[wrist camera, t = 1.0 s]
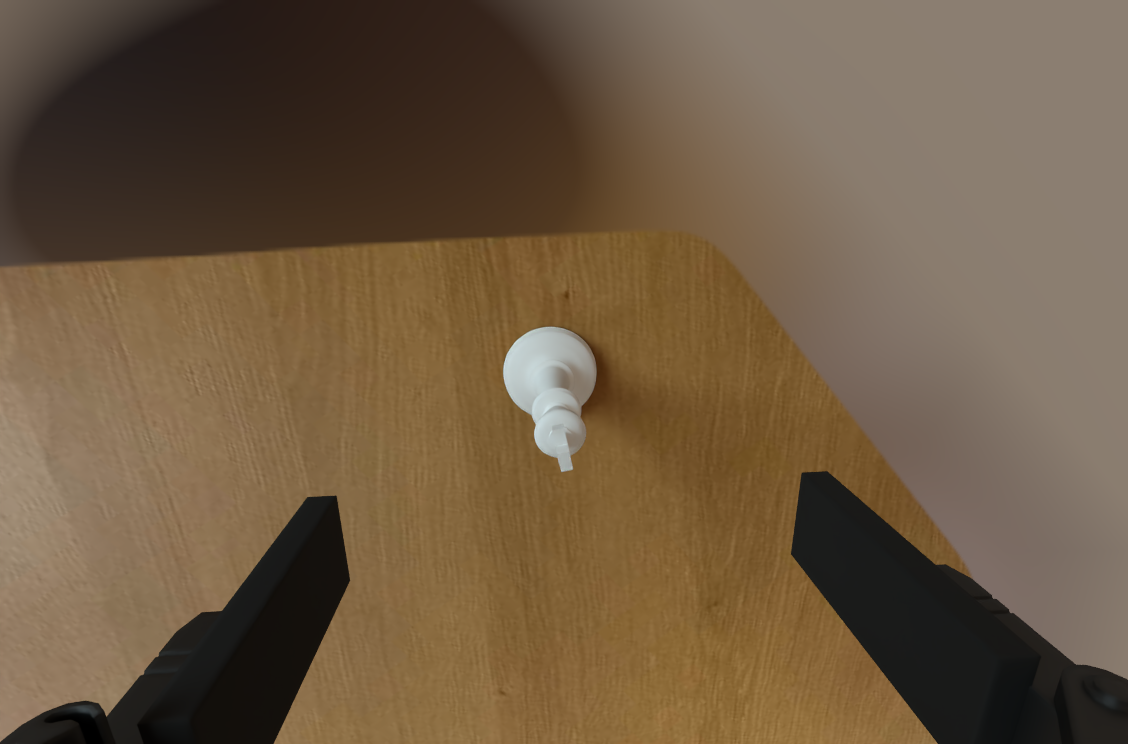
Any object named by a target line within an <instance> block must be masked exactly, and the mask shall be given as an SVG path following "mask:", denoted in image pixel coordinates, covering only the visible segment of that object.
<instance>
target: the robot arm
mask: <svg viewBox="0 0 1128 744" xmlns="http://www.w3.org/2000/svg"><path fill="white" fill-rule="evenodd" d="M791 555H792V556H793V557H794V558H795V560H796V561H797V562H798V564H799V565H800V566H801V568H802V569H803V570H804V571H805V573H806V574H807V575H808V577H809V578H810V579H811V580H812V582H813V583H814V584H815V586H816V587H817V588H818V589H819V591H820V592H821V593H822V595H823V596H824V597H825V598H826V600H827V601H828V602H829V604H830V605H831V606H832V608H833V609H834V610H835V611H836V613H837V614H838V615H839V617H840V618H841V619H842V620H843V622H844V623H845V624H846V626H847V627H848V628H849V629H850V631H851V632H852V633H853V635H854V636H855V637H856V638H857V640H858V641H859V642H860V644H861V645H862V646H863V647H864V649H865V650H866V651H867V653H868V654H869V655H870V657H871V658H872V659H873V660H874V662H875V663H876V664H877V666H878V667H879V668H880V669H881V671H882V672H883V673H884V675H885V676H886V677H887V678H888V680H889V681H890V682H891V684H892V685H893V686H894V687H895V689H896V690H897V691H898V693H899V694H900V695H901V697H902V698H903V699H904V700H905V702H906V703H907V704H908V706H909V707H910V708H911V709H912V711H913V712H914V713H915V715H916V716H917V717H918V718H919V720H920V721H921V722H922V724H923V725H924V726H925V727H926V729H927V730H928V731H929V733H930V734H931V735H932V736H933V738H934V739H935V740H936V742H937V743H938V744H1128V680H1127V679H1125V678H1123V677H1120V676H1118V675H1116V674H1113V673H1111V672H1109V671H1107V670H1103V669H1100V668H1096V667H1092V666H1088V665H1076V664H1074V663H1073V662H1072V661H1071V660H1070V659H1068V658H1067V657H1066V656H1064V655H1063V654H1062V653H1061V652H1060V651H1059V650H1057V649H1056V648H1055V647H1054V646H1053V645H1051V644H1050V643H1049V642H1048V641H1046V640H1045V639H1044V638H1043V637H1041V636H1040V635H1039V634H1038V633H1037V632H1035V631H1034V630H1033V629H1032V628H1031V627H1030V626H1028V625H1027V624H1026V623H1025V622H1024V621H1022V620H1021V619H1020V618H1019V617H1017V616H1016V615H1015V614H1014V613H1010V612H1009V609H1008V608H1006V607H1005V606H1004V605H1003V604H1002V603H1000V602H999V601H998V600H997V599H993V598H992V595H991V594H989V593H988V592H987V591H986V590H985V589H984V588H982V587H981V586H980V585H979V584H977V583H976V582H975V581H974V580H973V579H971V578H970V577H968V576H966V575H964V574H962V573H960V572H958V571H957V570H955V569H953V568H951V567H949V566H947V565H946V564H944V565H935V564H934V563H933V562H932V561H930V560H929V559H928V558H927V557H926V556H925V555H924V554H922V553H921V552H920V551H919V550H918V549H917V548H915V547H914V546H913V545H912V544H911V543H910V542H908V541H907V540H906V539H905V538H904V537H903V536H902V535H900V534H899V533H898V532H897V531H896V530H895V529H893V528H892V527H891V526H890V525H889V524H888V523H886V522H885V521H884V520H883V519H882V518H881V517H880V516H878V515H877V514H876V513H875V512H874V511H873V510H871V509H870V508H869V507H868V506H867V505H866V504H864V503H863V502H862V501H861V500H860V499H859V498H858V497H856V496H855V495H854V494H853V493H852V492H851V491H849V490H848V489H847V488H846V487H845V486H844V485H842V484H841V483H840V482H839V481H838V480H837V479H836V478H834V477H833V476H832V475H831V474H830V473H829V472H827V471H825V472H805V473H802V475H801V482H800V490H799V497H798V505H797V512H796V520H795V527H794V535H793V543H792V550H791ZM349 582H350V577H349V570H348V564H347V558H346V552H345V546H344V539H343V533H342V527H341V521H340V515H339V508H338V502H337V496H321V497H307V499H306V500H305V501H304V503H303V504H302V505H301V507H300V508H299V509H298V511H297V512H296V513H295V515H294V516H293V517H292V519H291V520H290V521H289V523H288V524H287V525H286V527H285V528H284V529H283V531H282V532H281V533H280V535H279V536H278V537H277V539H276V540H275V541H274V543H273V544H272V545H271V547H270V548H269V549H268V551H267V552H266V553H265V555H264V556H263V557H262V559H261V560H260V561H259V563H258V564H257V565H256V567H255V568H254V569H253V571H252V572H251V573H250V575H249V576H248V577H247V579H246V580H245V581H244V583H243V584H242V585H241V586H240V588H239V589H238V590H237V592H236V593H235V594H234V596H233V597H232V598H231V600H230V601H229V602H228V604H227V605H226V606H225V608H224V609H223V610H222V611H217V612H202V613H201V614H199V615H198V616H197V617H195V618H194V619H193V620H191V621H190V622H189V623H187V624H186V625H185V626H183V627H182V628H181V629H179V630H178V631H177V632H176V633H175V634H174V635H173V637H172V638H171V639H170V640H169V642H168V643H167V644H166V645H165V646H164V648H163V649H162V650H161V651H160V653H159V656H158V657H155V659H154V660H153V661H152V662H151V663H150V665H149V666H148V667H147V668H146V670H145V671H144V675H141V676H140V677H139V678H138V679H137V680H136V682H135V683H134V684H133V685H132V687H131V688H130V689H129V690H128V691H127V693H126V694H125V695H124V696H123V698H122V699H121V700H120V701H119V702H118V704H117V705H116V706H115V707H114V708H113V710H112V711H111V712H110V713H109V715H108V716H107V717H106V715H105V712H104V710H103V709H102V708H101V706H100V705H99V703H94V702H89V701H80V702H74V703H68V704H65V705H62V706H59V707H57V708H54V709H51V710H49V711H46V712H44V713H42V714H40V715H39V716H37V717H35V718H33V719H31V720H30V721H28V722H26V723H24V724H23V725H21V726H20V727H19V728H17V729H16V730H15V731H14V732H12V733H11V734H10V735H8V736H7V737H6V738H5V739H3V740H2V741H1V742H0V744H274V742H275V740H276V738H277V735H278V733H279V731H280V729H281V727H282V725H283V723H284V720H285V718H286V716H287V714H288V712H289V710H290V708H291V705H292V703H293V701H294V699H295V697H296V695H297V693H298V691H299V688H300V686H301V684H302V682H303V680H304V678H305V676H306V673H307V671H308V669H309V667H310V665H311V663H312V661H313V658H314V656H315V654H316V652H317V650H318V648H319V646H320V644H321V641H322V639H323V637H324V635H325V633H326V631H327V629H328V626H329V624H330V622H331V620H332V618H333V616H334V614H335V612H336V609H337V607H338V605H339V603H340V601H341V599H342V597H343V594H344V592H345V590H346V588H347V586H348V584H349Z"/></svg>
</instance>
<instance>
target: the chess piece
mask: <svg viewBox="0 0 1128 744" xmlns="http://www.w3.org/2000/svg"><path fill="white" fill-rule="evenodd" d="M596 372H597V370H596V361H595V358H594V355H593V353H592V351H591V349H590V347H589V346H588V344H587V343H586V342H585V341H584V340H583V339H582V338H581V337H579V336H578V335H577V334H575V333H573V332H571V331H569V330H566V329H563V328H559V327H543V328H538V329H535V330H532V331H530V332H528V333H526V334H524V335H523V336H522V337H520V338H519V339H518V340H517V341H516V342H515V343H514V344H513V345H512V347H511V348H510V350H509V352H508V354H507V356H506V359H505V362H504V369H503V375H504V382H505V385H506V388H507V391H508V393H509V395H510V397H511V398H512V400H513V401H514V402H515V403H516V405H517V406H519V407H520V408H521V409H522V410H524V411H525V412H527V413H529V414H531V415H532V417H533V420H534V422H535V423H536V427H535V431H534V437H535V441H536V444H537V446H538V447H539V448H540V450H541V451H543V452H544V453H545V454H547V455H549V456H552V457H557V458H558V462H559V465H560V468H561V472H563V471H568V470H573V467H572V462H571V457H570V455H572V454H574V453H576V452H577V451H578V450H579V449H580V448H581V447H582V445H583V443H584V441H585V438H586V428H585V424H584V422H583V421H582V419H581V418H580V416H581V406H582V405H583V404H584V403H585V402H586V401H587V400H588V399H589V397H590V395H591V394H592V392H593V389H594V386H595V382H596Z"/></svg>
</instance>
